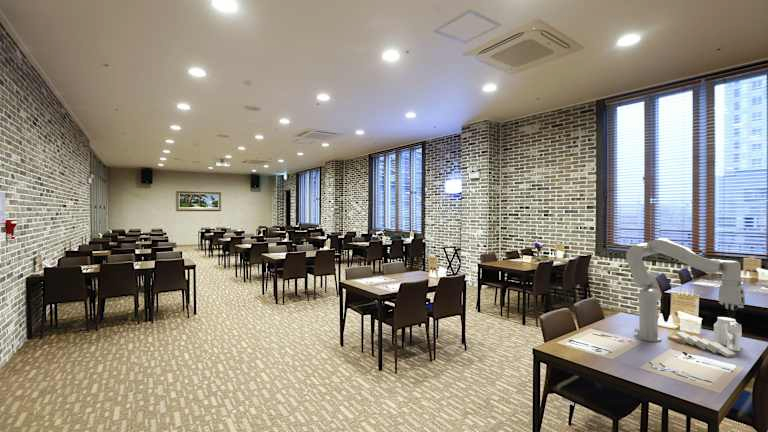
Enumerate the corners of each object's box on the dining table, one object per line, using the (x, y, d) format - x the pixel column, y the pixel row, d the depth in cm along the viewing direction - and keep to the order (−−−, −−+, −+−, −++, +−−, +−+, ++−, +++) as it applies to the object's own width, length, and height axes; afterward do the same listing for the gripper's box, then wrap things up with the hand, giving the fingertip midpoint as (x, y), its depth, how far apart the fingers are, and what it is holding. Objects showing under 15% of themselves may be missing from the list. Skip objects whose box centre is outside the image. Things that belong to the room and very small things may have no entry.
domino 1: (684, 344, 220) (667, 338, 230) (692, 343, 222) (674, 337, 231) (684, 341, 220) (667, 335, 230) (692, 340, 222) (674, 335, 231)
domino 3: (704, 349, 210) (686, 339, 219) (711, 348, 212) (694, 338, 221) (705, 347, 210) (687, 336, 219) (712, 346, 211) (695, 335, 220)
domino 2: (691, 345, 217) (675, 334, 226) (698, 344, 219) (681, 333, 228) (693, 342, 216) (676, 332, 225) (700, 341, 218) (682, 331, 227)
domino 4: (715, 353, 205) (696, 342, 214) (722, 352, 206) (704, 341, 216) (716, 350, 204) (697, 339, 213) (723, 349, 206) (705, 338, 215)
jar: (712, 342, 222) (712, 318, 222) (715, 339, 228) (715, 315, 228) (738, 347, 213) (738, 322, 213) (740, 344, 219) (740, 319, 219)
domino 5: (727, 357, 199) (707, 345, 208) (734, 355, 201) (714, 344, 210) (728, 354, 199) (708, 342, 208) (735, 353, 200) (715, 341, 210)
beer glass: (745, 352, 207) (745, 325, 207) (730, 351, 208) (730, 325, 208) (735, 347, 214) (735, 322, 214) (722, 346, 215) (722, 321, 215)
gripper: (752, 285, 194) (752, 319, 194) (719, 280, 208) (720, 312, 208) (743, 286, 192) (743, 320, 192) (710, 281, 206) (710, 313, 206)
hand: (731, 316), depth 200 cm, fingers closed
